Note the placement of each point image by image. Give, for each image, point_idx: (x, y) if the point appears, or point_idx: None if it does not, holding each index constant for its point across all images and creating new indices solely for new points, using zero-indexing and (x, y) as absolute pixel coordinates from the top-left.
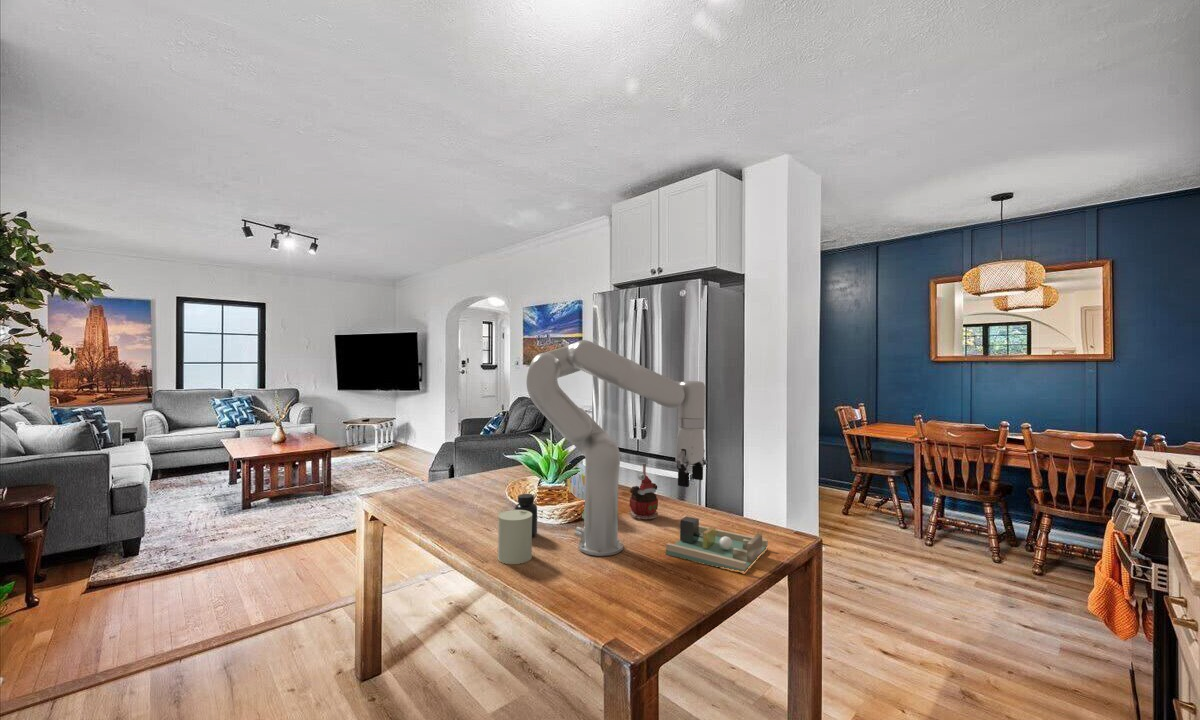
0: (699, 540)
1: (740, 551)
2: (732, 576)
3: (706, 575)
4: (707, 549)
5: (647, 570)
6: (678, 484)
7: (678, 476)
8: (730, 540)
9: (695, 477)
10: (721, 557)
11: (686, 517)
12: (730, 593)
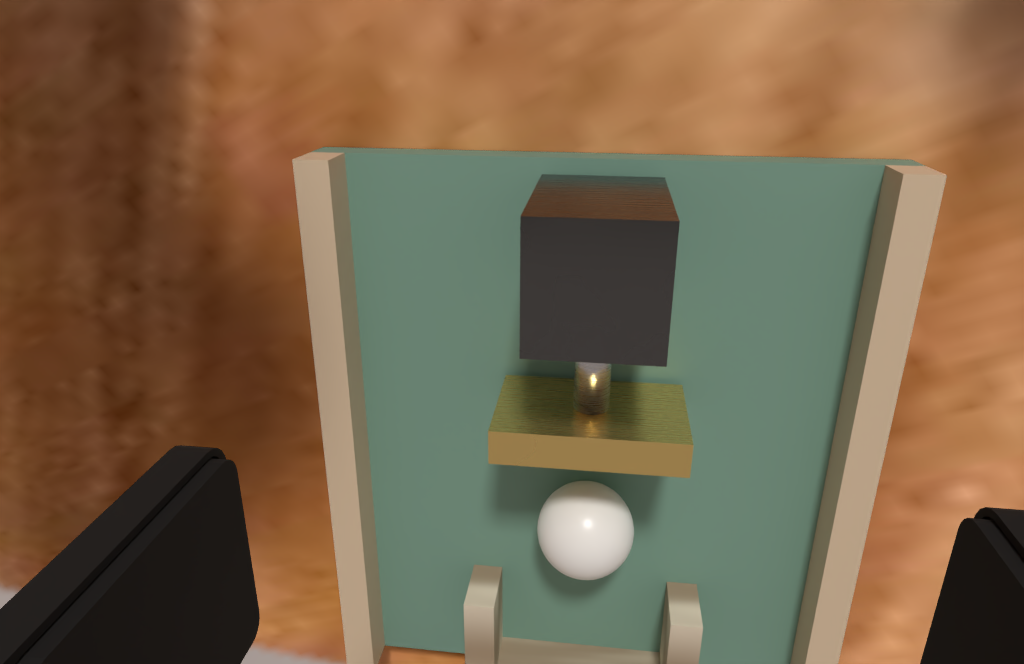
0: None
1: (466, 642)
2: (307, 580)
3: None
4: None
5: (21, 164)
6: (173, 462)
7: (48, 580)
8: (576, 578)
9: (961, 606)
10: (340, 555)
11: (637, 241)
12: None
